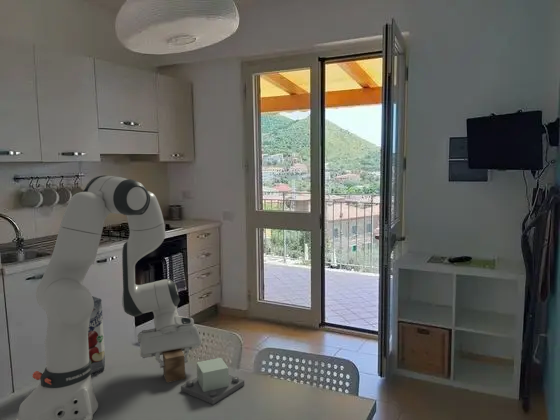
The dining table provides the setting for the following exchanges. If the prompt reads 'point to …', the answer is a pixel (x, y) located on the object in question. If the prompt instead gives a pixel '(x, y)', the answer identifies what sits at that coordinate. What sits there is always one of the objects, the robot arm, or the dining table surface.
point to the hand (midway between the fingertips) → (174, 364)
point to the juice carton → (96, 338)
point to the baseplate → (212, 393)
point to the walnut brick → (174, 365)
